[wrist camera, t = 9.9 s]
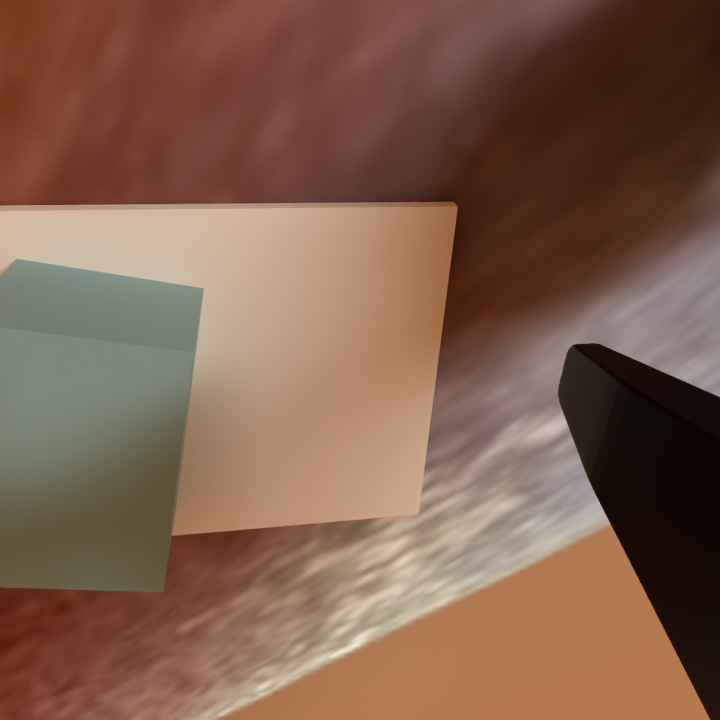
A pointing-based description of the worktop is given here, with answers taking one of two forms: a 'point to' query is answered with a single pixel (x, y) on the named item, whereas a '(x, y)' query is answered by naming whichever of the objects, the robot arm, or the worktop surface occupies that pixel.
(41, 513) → the grey-green block
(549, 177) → the worktop surface
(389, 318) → the mat
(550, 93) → the worktop surface
